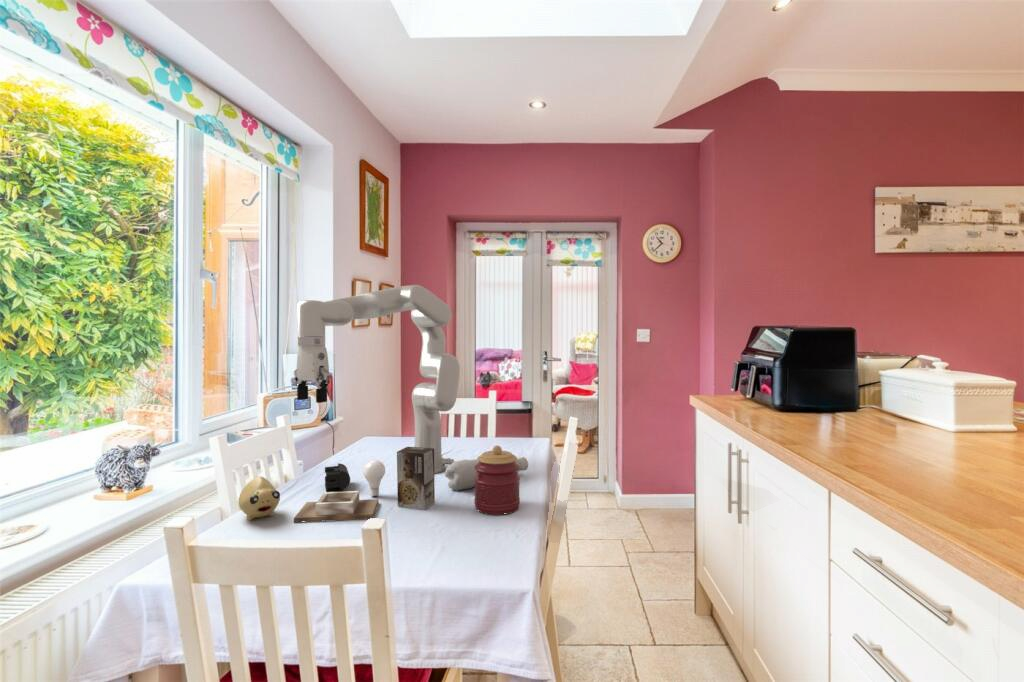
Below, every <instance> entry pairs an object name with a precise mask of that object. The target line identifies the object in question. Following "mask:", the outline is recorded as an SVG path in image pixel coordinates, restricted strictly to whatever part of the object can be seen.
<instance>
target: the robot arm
mask: <svg viewBox="0 0 1024 682" xmlns="http://www.w3.org/2000/svg"><path fill="white" fill-rule="evenodd" d="M407 311H410V318H411V320H412V322H413V324H414V325H415V326H416V327H417V329H418V330H419V332H420V334H421V338H422V341H421V342H422V343H421V344H422V345H421V353H420V361H419V373H420V375H421V376H422V377H423V378H425V379H430V380H436V382H428V381H426V382H425V381H424V382H420V383H418V384H417V385H416V386H414V388H413V389H412V392H411V402H412V407H413V408H412V409H413V415H414V447H421V448H434V474H438V473H441V472H445V471H446V468H447V465H448V466H449V465H451V464H452V463H453V462H454V461H455V460H454V458H451V457H450V458H449V457H447V458H444V457H443V454H442V417H441V414H440V413H441V412H448V411H450V410H452V408H454V406H455V404H456V401H457V397H458V390H459V384H460V383H459V381H460V375H461V373H460V371H461V367H460V362H459V359H458V358H457V357H456V356H455V355H453V354H451V353H448V352H447V353H446V343H447V341H446V340H447V338H446V335H445V331H444V329H443V328H444V327H445V326H447V325H448V324H450V322H451V320H452V317H453V316H452V311H451V309H450V307H449V306H448V304H446V303H445V301H443V300H442V299H441V298H439V297H438V295H435V294H434V293H433V292H432V291H431V290H429V289H428V288H426V287H424V286H423V285H420V284H412V285H411V284H410V285H400V286H395V287H390V288H386V289H385V288H384V289H381V290H375V291H370V292H365V293H361V294H358V295H352V296H347V297H343V298H337V299H331V300H327V301H321V300H314V299H312V300H308V299H307V300H305V299H304V300H301V301H299V302H298V303H297V348H298V349H297V356H296V357H297V358H296V369H295V370H294V371H293V374H294V377H295V378H294V380H295V382H296V384H295V386H296V387H297V388H296V395H297V396H296V397H297V398H296V400H298V401H304V400H308V399H309V386H308V383H309V382H310V383H315V385H316V389H315V402H316V403H317V404H321V403H326V402H328V388H329V384H330V382H331V380H330V379H331V377H332V374H331V372H330V367H329V365H330V364H329V356H328V350H327V347H326V327H332V326H333V327H342V326H345V325H348V324H349V323H351V322H352V321H353V320H365V319H376V318H380V317H385V316H389V315H393V314H397V313H401V312H407Z"/></svg>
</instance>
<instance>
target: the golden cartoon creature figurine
mask: <svg viewBox="0 0 1024 682" xmlns="http://www.w3.org/2000/svg"><path fill="white" fill-rule="evenodd" d="M280 500H281V493H280V492H279V491H278V490H277V489H276V488H275V486H274V485H273V484H272V483H271V482H270V481H269V480H268V479H267V478H265V477H264V476H256V477H254V478H253V479H251V480H250V481H248V483H246V485H245V486H244V488H242V490H241V491H240V494H239V497H238V507H239V508H240V510H241V511H242V513H243V514H244V515H246V519H247V520H248V521H251V520H253V519H254V518H262V517H266V516H268V517H273V516H274V514H275V510H276V508H277V507H278V506H279V503H280Z"/></svg>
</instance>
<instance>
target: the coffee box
mask: <svg viewBox="0 0 1024 682" xmlns="http://www.w3.org/2000/svg"><path fill="white" fill-rule="evenodd" d="M396 470H397V471H396V475H397V477H396V478H397V479H396V481H397V486H396V487H397V507H398V508H405V509H413V510H421V511H423V510H424V511H426V510H427V509H428V508H430V507H431V506H433V505H434V504H435V501H436V500H435V499H436V497H435V496H436V495H435V491H436V489H435V473H434V448H421V447H415V446H405V447H404V448H401V449H399V450H398V451H397V450H396Z"/></svg>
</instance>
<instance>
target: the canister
mask: <svg viewBox="0 0 1024 682" xmlns="http://www.w3.org/2000/svg"><path fill="white" fill-rule="evenodd" d="M476 459H477V460H478V461H479V462H478V463H477V464H476V465H475V466H474V468H475V470H476V476H475V478H474V480H475V486H474V502H473V503H474V505H475V507H476V508H475V507H474V508H475V509H477V510H476V511H478V510H479V511H481V512H483V513H482V514H484V513H487V514H486V515H490V514H503V515H505V514H504V513H509V514H511V512H512V513H514V511H515V512H516V511H517V510H519V508H520V503H521V497H520V480H521V477H520V475H519V471H518V470H519V468H520V465H519V464H518V463H516V460H517V459H518V457H517V456H516V455H514V454H513V453H512V452H510V451H508V450H503V449H502V447H501V446H500V445H495V446H493V447H492V450H488V451H485V452H483V453H482V454H480V455H479V456H477V458H476ZM479 511H478V512H479ZM481 512H480V513H481Z"/></svg>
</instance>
